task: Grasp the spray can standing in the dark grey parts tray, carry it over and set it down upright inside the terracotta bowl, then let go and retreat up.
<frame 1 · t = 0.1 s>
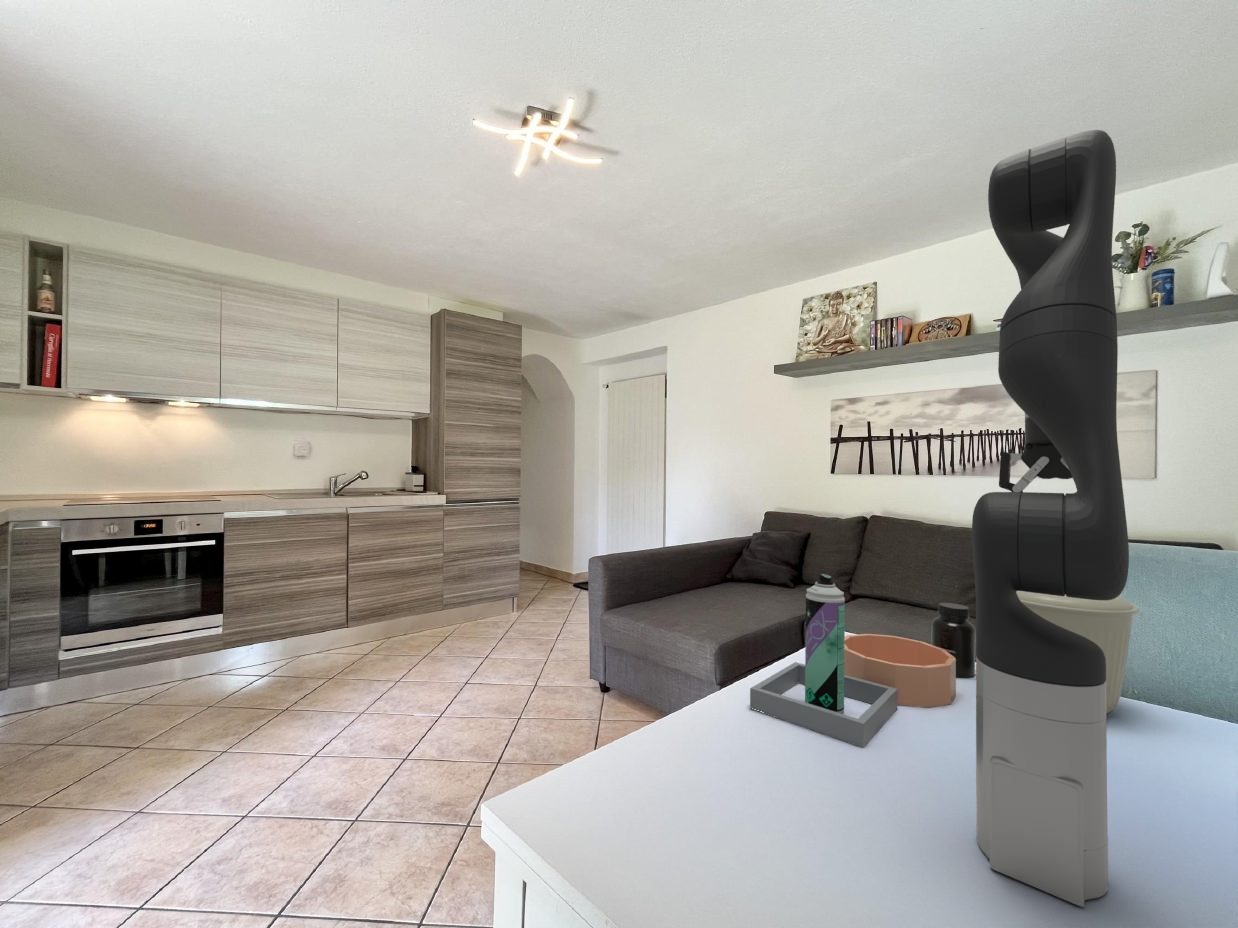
hand: (1055, 517, 81), 29 cm above the table, fingers open, 8 cm apart
parts tray: (824, 708, 77), on the table
bowl: (894, 684, 87), on the table
supplement bottle: (952, 672, 94), on the table
spray can: (824, 710, 77), resting in parts tray
canister: (1059, 702, 82), on the table
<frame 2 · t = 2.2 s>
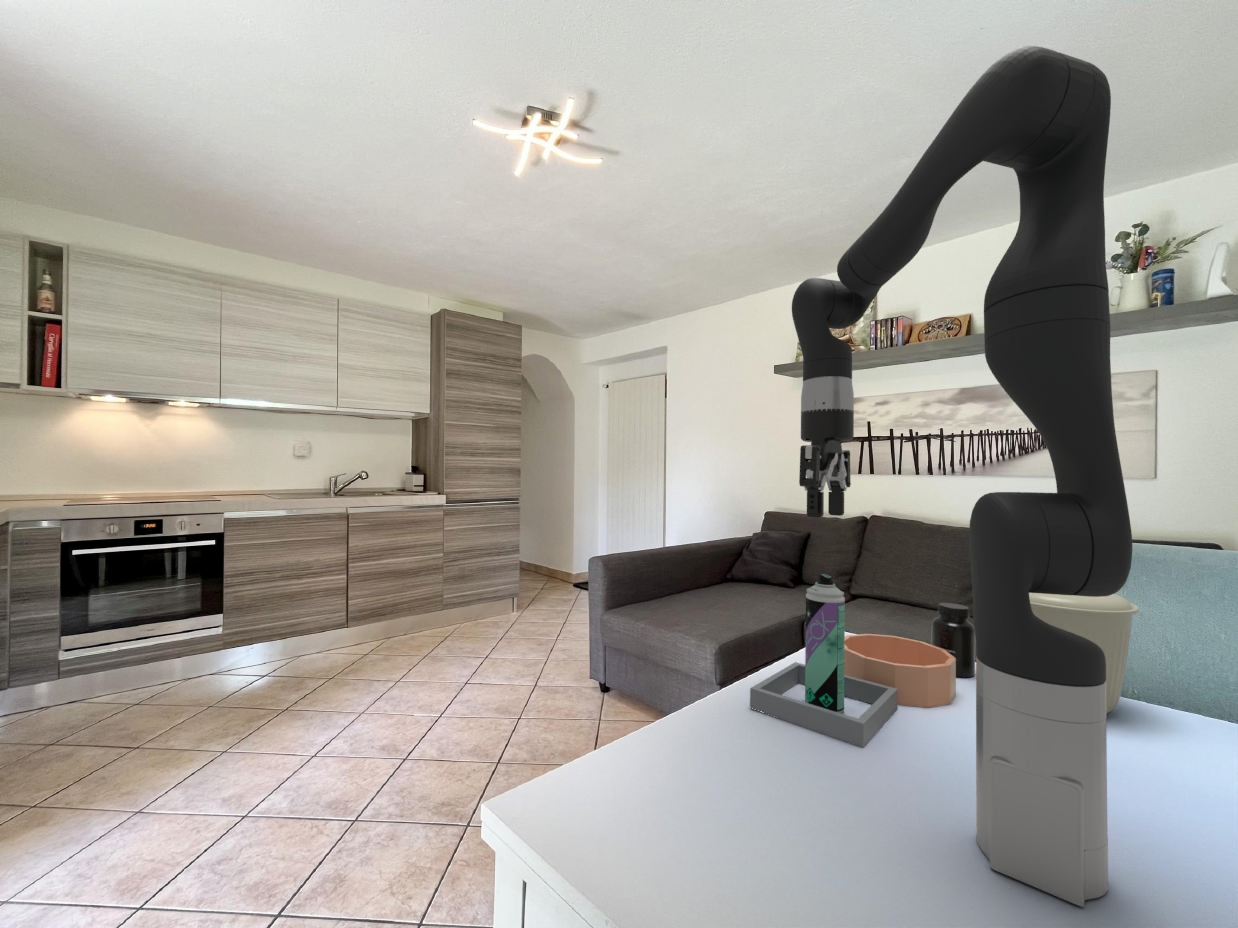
hand: (826, 516, 78), 29 cm above the table, fingers open, 8 cm apart
nothing on the table moved.
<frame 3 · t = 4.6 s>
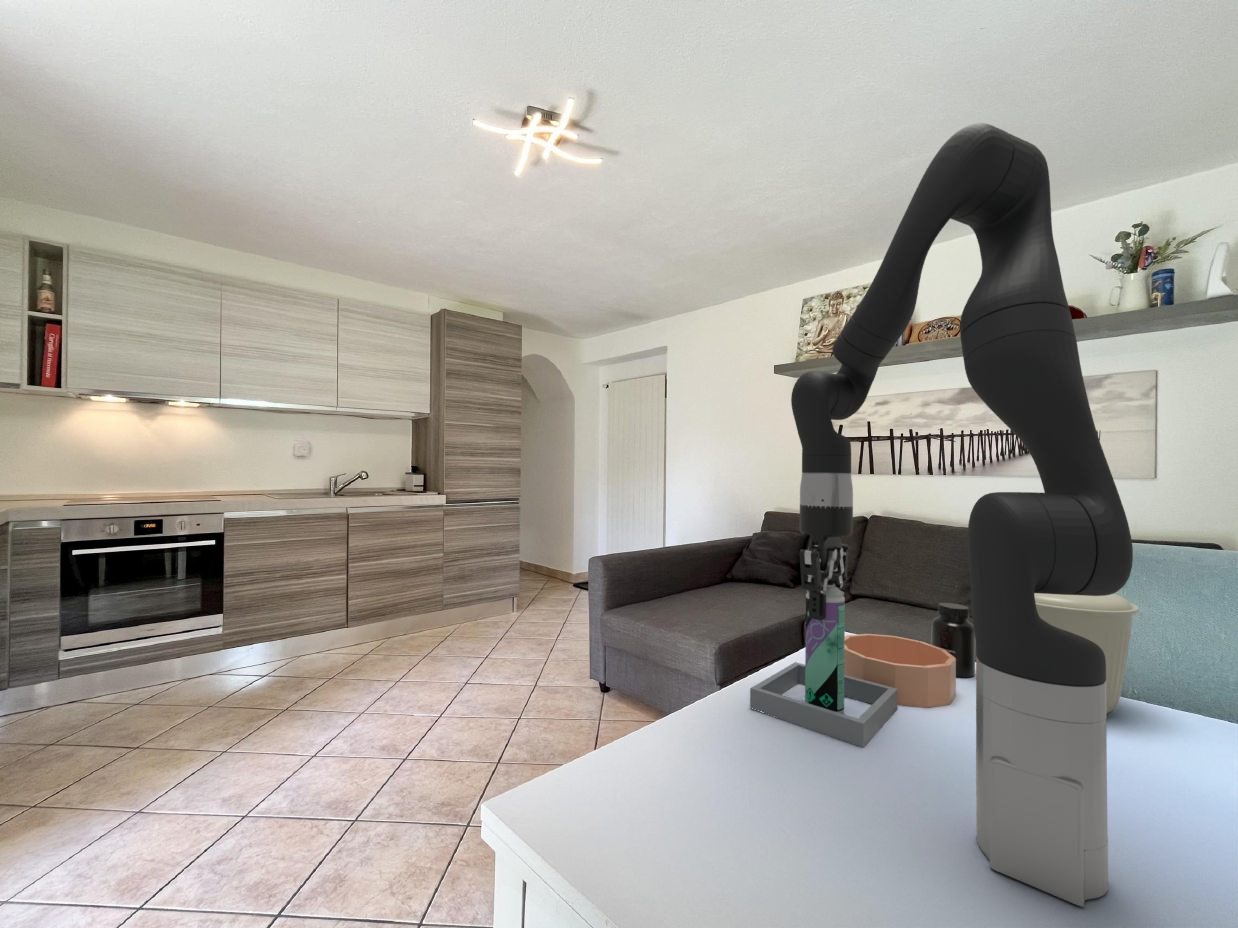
hand: (825, 614, 78), 14 cm above the table, fingers closed on spray can, 5 cm apart
spray can: (824, 709, 77), resting in parts tray, touching gripper
everything else where it was.
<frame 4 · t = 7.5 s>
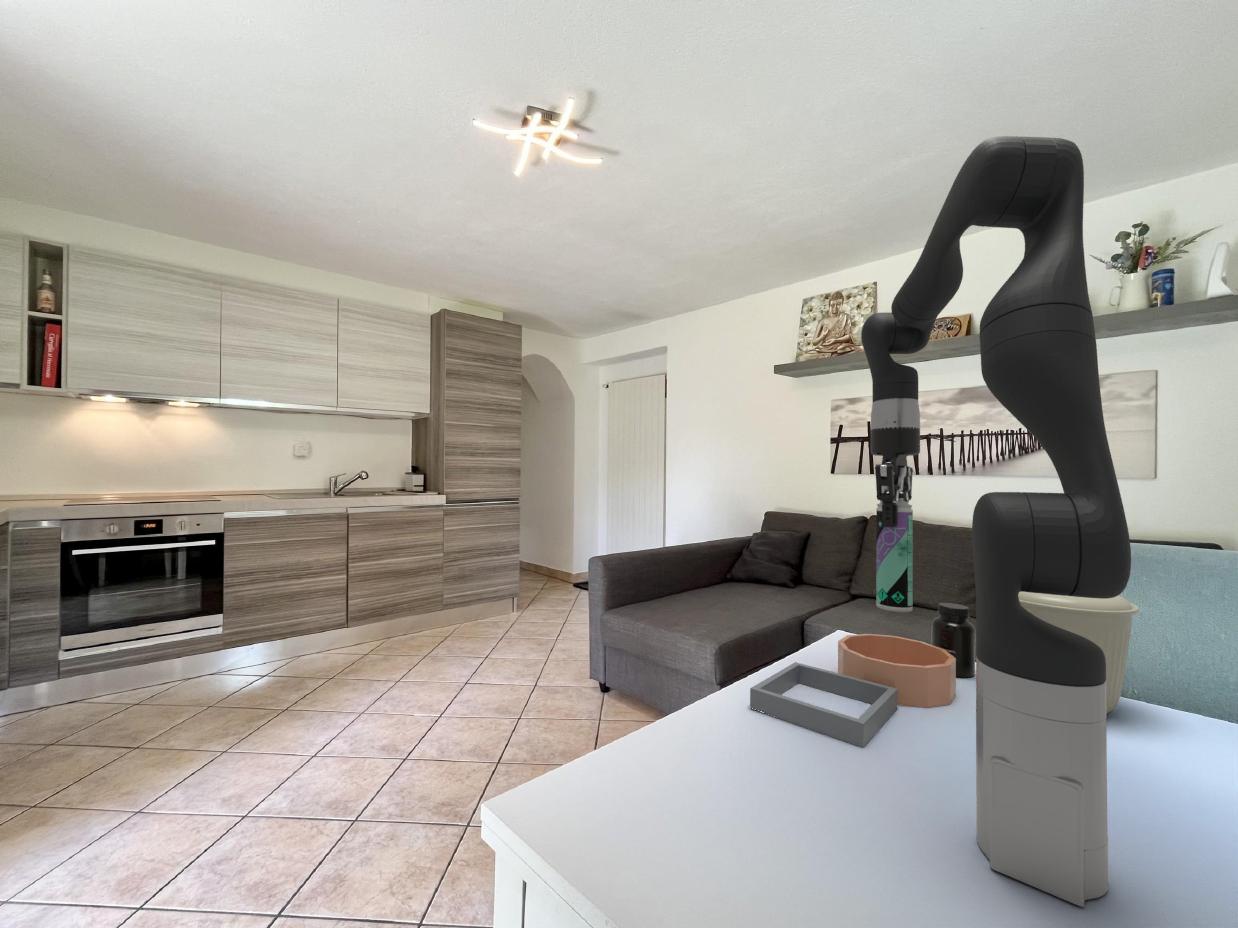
hand: (894, 525, 88), 27 cm above the table, fingers closed on spray can, 5 cm apart
spray can: (894, 609, 88), point 13 cm above the table, touching gripper
everything else where it was.
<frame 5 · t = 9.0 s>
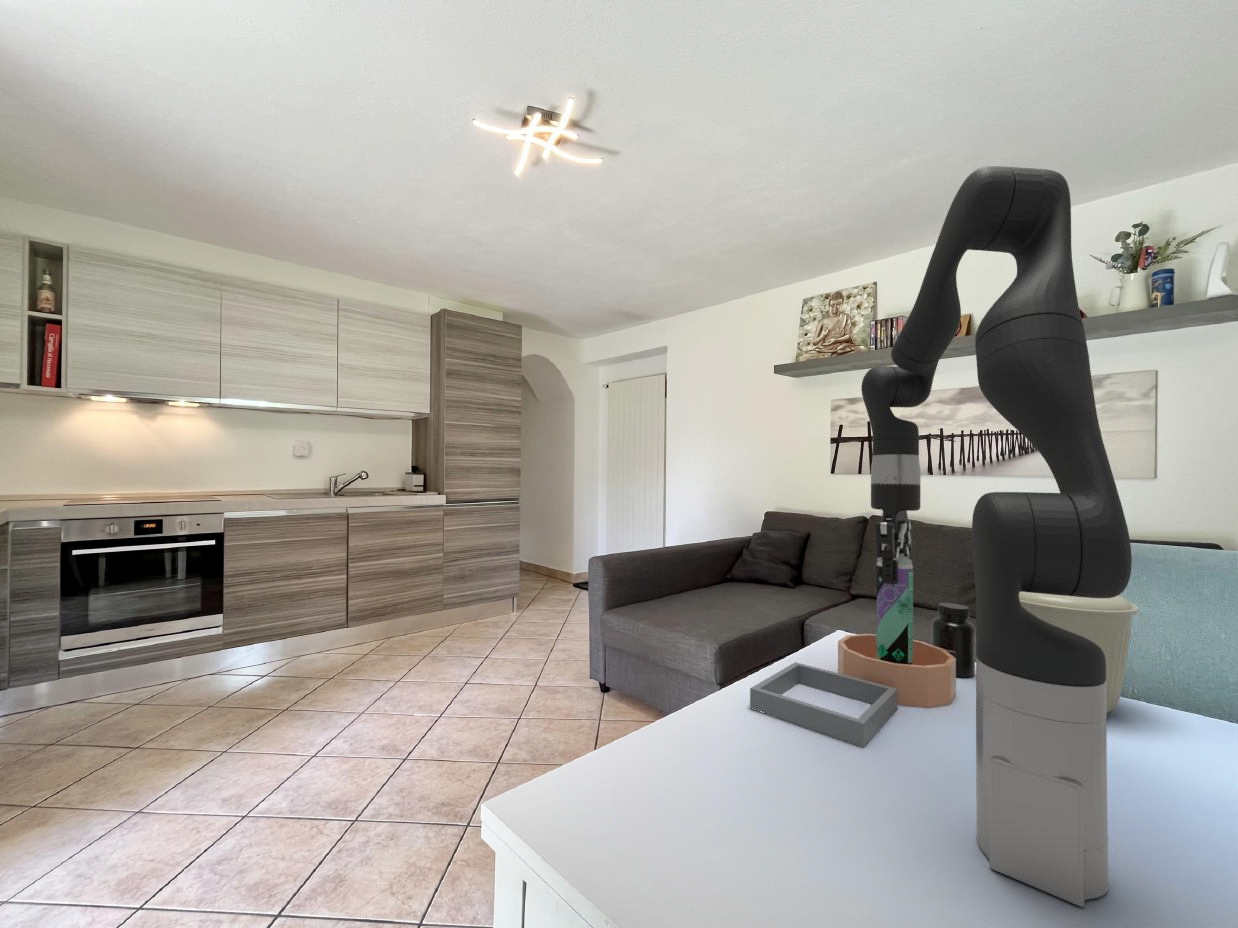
hand: (895, 580, 88), 18 cm above the table, fingers closed on spray can, 5 cm apart
spray can: (894, 664, 87), point 3 cm above the table, touching gripper
everything else where it was.
when the fingers open (15 cm above the table, at t = 10.4 s): spray can stays where it is, resting on bowl.
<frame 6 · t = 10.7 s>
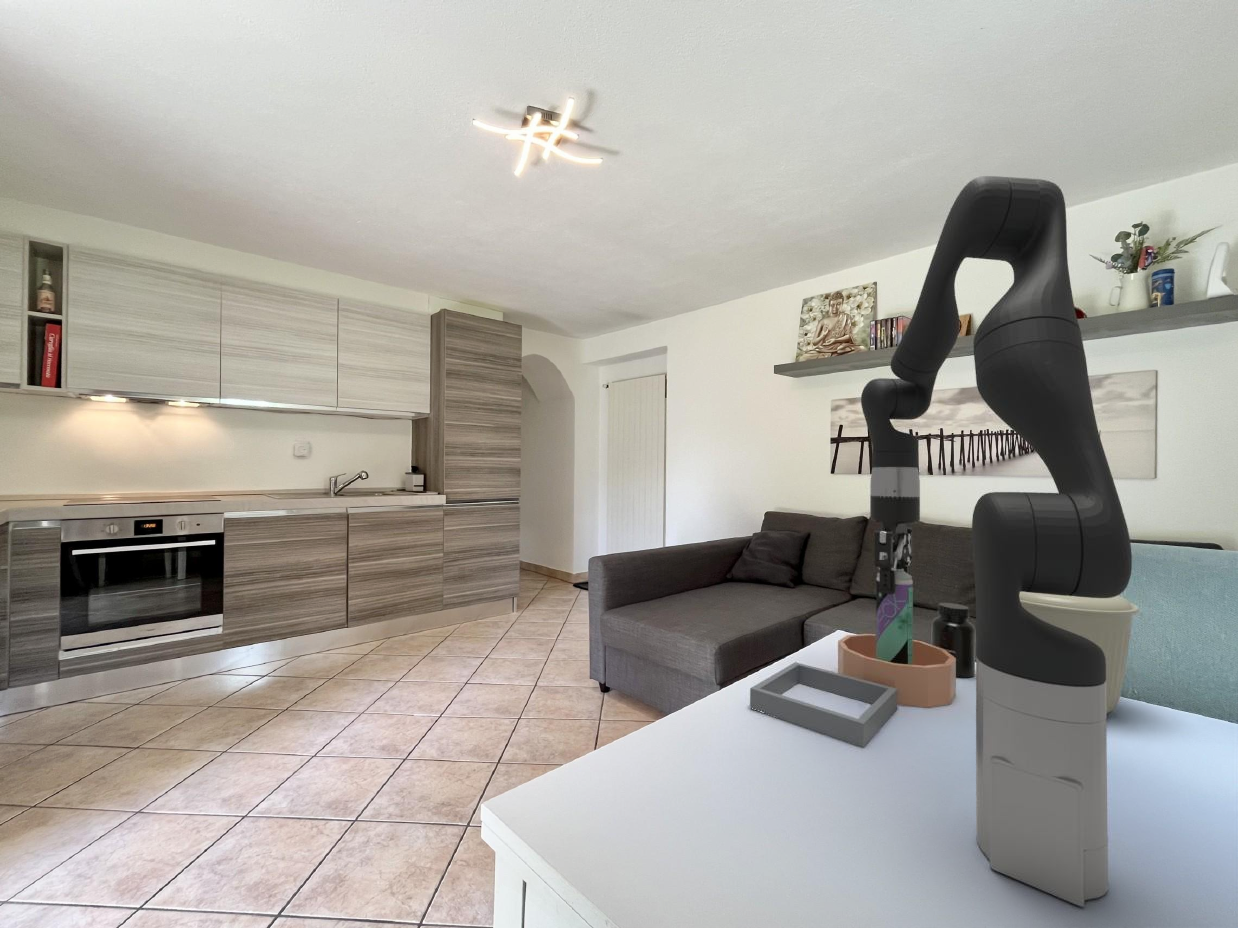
hand: (894, 589, 88), 16 cm above the table, fingers open, 8 cm apart
spray can: (894, 680, 87), point 1 cm above the table, touching bowl
everything else where it was.
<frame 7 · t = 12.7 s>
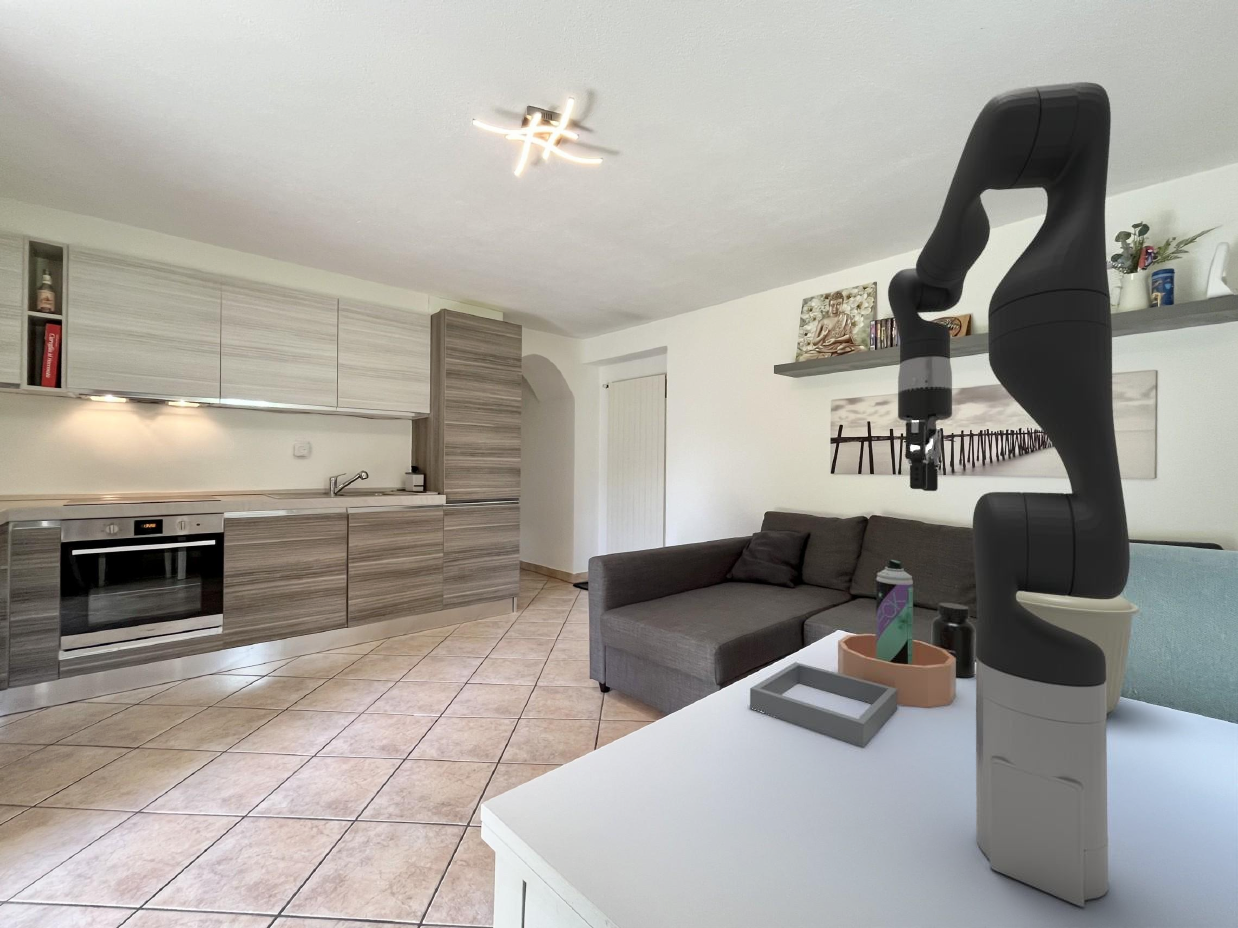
hand: (924, 490, 82), 33 cm above the table, fingers open, 8 cm apart
nothing on the table moved.
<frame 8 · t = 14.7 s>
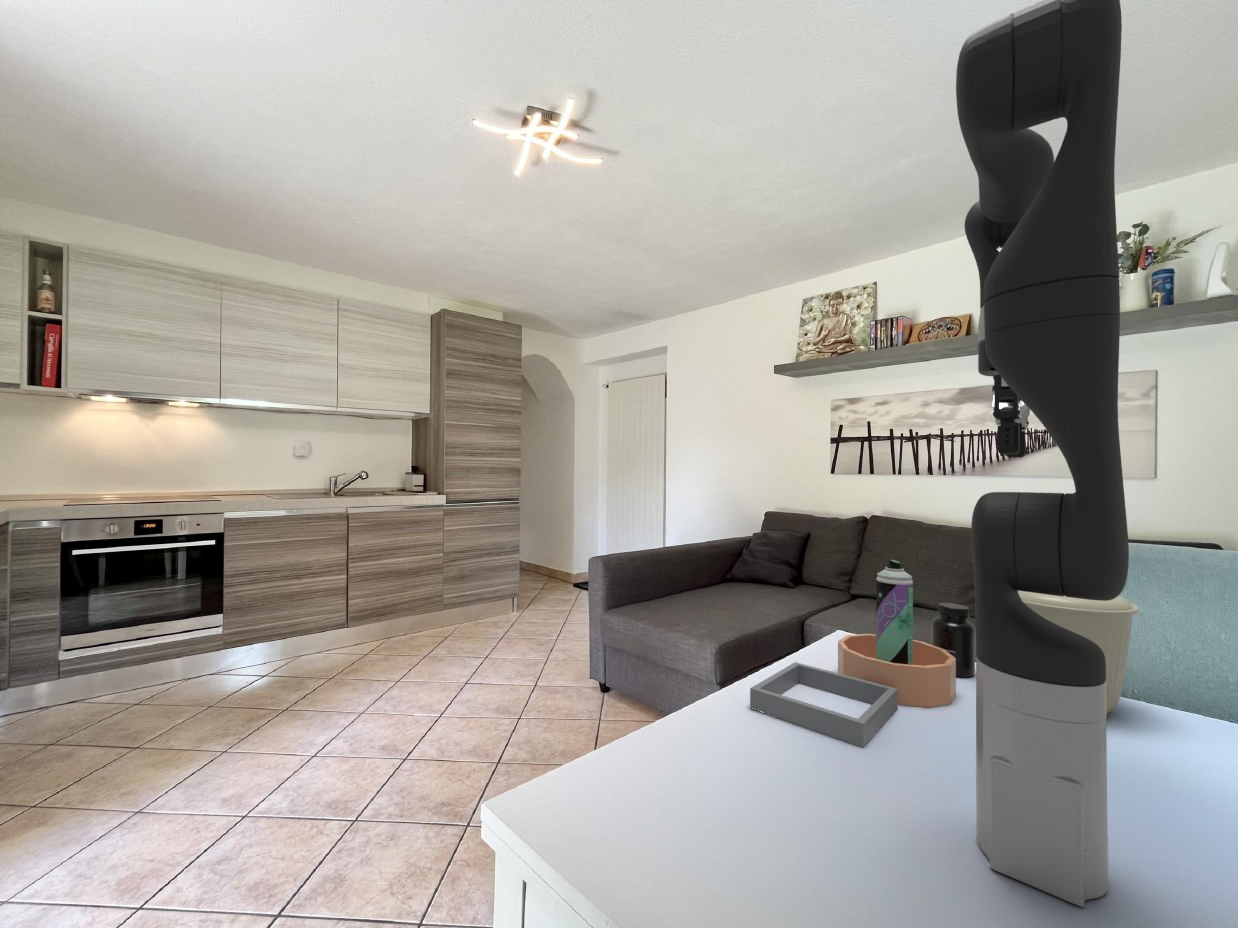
hand: (1012, 455, 70), 38 cm above the table, fingers open, 8 cm apart
nothing on the table moved.
at the end: spray can inside the target area on the bowl (0.2 cm from its centre), point 0.8 cm above the bowl's base; spray can tilted 0°; the gripper is holding nothing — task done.
